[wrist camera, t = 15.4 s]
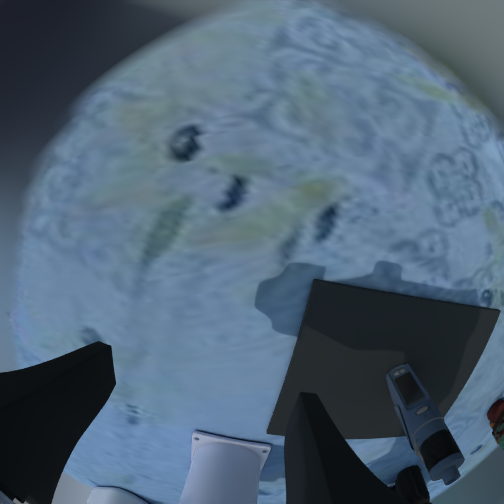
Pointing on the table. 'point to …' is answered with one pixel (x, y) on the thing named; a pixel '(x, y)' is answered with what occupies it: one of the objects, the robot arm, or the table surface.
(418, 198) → the table surface
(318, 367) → the mat
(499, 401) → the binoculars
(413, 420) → the vaping device
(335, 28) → the table surface
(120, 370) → the table surface
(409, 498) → the film camera
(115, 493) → the plastic bottle
